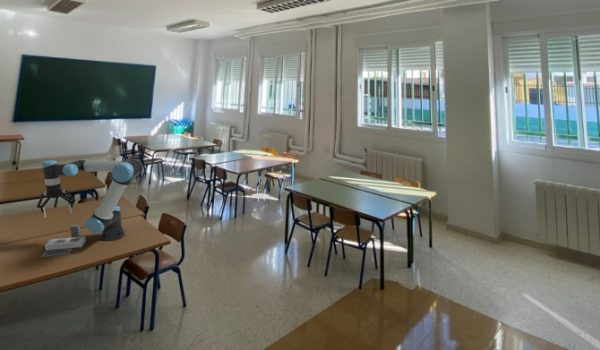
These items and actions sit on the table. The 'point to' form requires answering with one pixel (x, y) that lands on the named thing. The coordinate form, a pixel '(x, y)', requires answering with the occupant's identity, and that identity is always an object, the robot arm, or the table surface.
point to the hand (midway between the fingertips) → (58, 214)
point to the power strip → (65, 243)
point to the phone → (56, 252)
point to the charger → (75, 231)
